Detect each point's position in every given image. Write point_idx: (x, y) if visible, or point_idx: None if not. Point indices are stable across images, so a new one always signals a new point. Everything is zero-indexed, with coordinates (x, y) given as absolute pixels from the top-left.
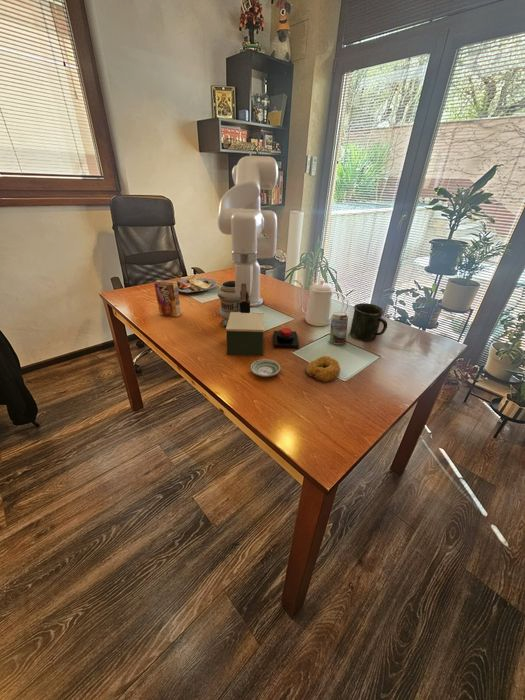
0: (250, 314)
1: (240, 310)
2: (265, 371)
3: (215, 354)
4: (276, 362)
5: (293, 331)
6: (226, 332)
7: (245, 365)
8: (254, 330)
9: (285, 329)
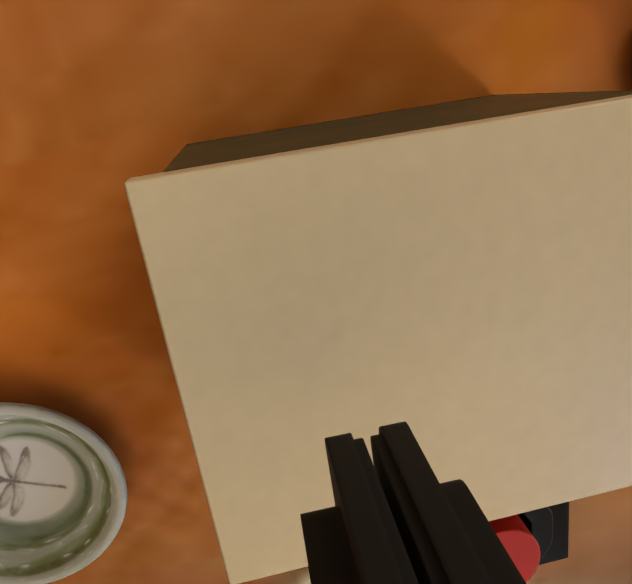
0: (606, 364)
1: (331, 461)
2: (12, 484)
3: (161, 32)
4: (100, 550)
5: (567, 543)
6: (166, 169)
7: (74, 325)
8: (210, 504)
9: (516, 556)
